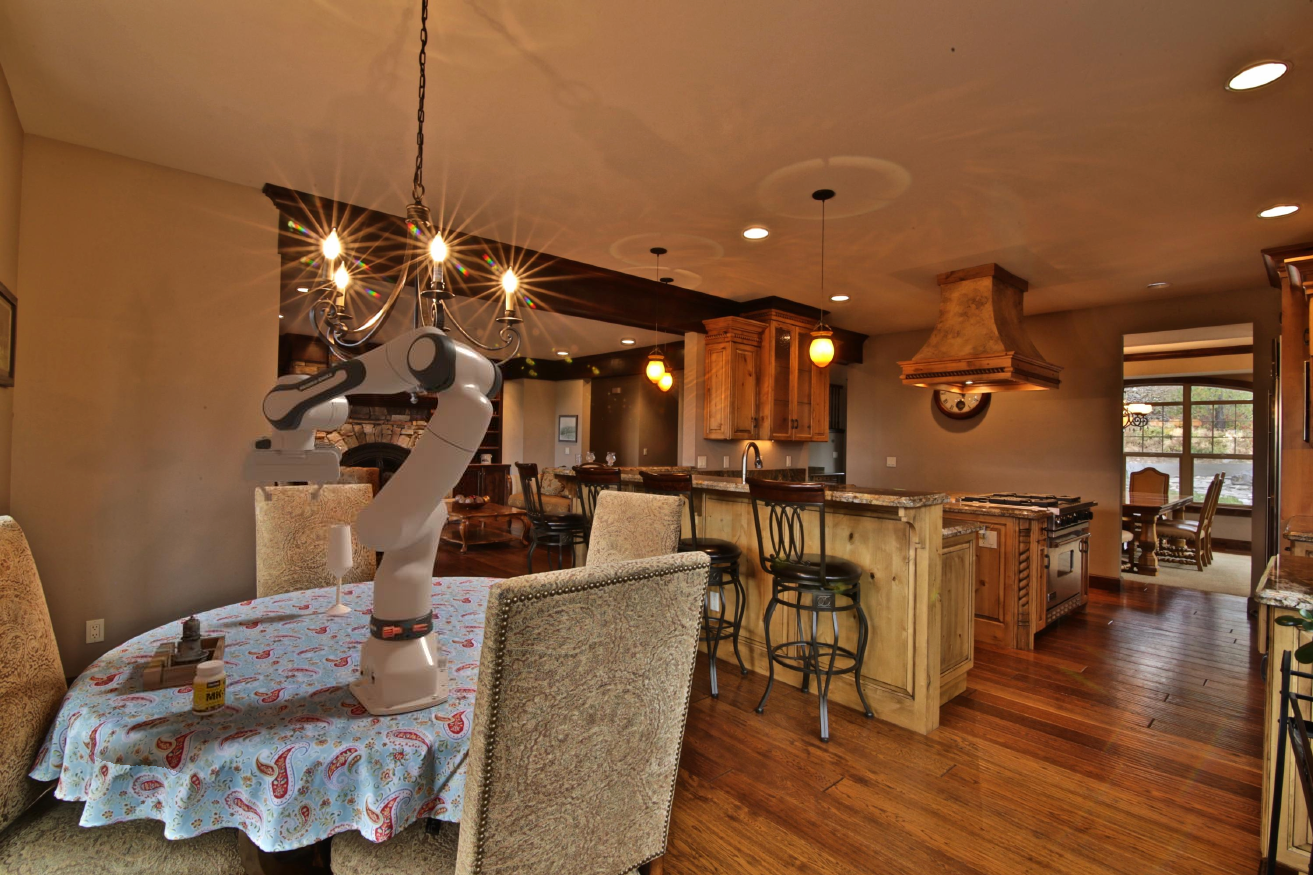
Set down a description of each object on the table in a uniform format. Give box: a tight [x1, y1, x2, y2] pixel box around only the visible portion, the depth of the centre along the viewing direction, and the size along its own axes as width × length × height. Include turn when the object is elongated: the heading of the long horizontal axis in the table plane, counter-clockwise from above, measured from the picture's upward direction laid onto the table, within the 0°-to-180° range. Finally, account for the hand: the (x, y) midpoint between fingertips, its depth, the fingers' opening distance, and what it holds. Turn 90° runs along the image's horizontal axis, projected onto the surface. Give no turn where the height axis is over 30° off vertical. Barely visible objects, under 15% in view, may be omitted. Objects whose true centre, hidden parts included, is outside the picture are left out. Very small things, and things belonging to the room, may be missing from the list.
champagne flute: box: [324, 524, 354, 615], centre depth 169 cm, size 7×7×24 cm
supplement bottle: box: [192, 660, 227, 716], centre depth 109 cm, size 5×5×8 cm
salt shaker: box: [173, 614, 209, 666], centre depth 123 cm, size 6×6×12 cm
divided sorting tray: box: [142, 635, 226, 692], centre depth 126 cm, size 18×12×4 cm, turn 31°
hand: (291, 500), depth 143 cm, fingers open, 8 cm apart
